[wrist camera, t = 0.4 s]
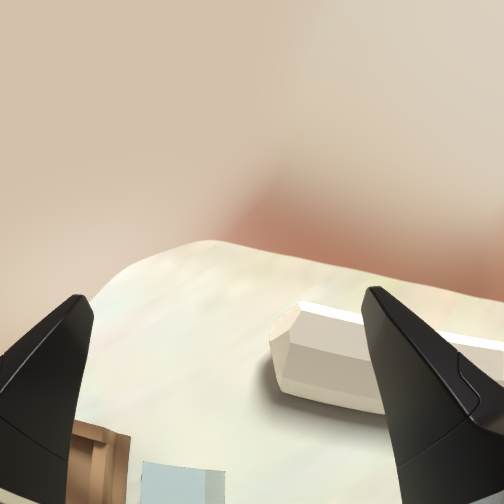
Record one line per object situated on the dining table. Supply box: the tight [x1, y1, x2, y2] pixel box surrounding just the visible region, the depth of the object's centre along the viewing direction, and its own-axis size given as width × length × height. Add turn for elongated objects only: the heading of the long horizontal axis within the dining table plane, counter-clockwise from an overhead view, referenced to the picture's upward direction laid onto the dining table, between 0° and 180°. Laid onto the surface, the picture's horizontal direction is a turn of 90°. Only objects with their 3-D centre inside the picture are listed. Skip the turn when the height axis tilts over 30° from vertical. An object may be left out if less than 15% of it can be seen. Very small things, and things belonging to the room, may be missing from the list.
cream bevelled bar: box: [269, 301, 504, 415], centre depth 18 cm, size 7×7×24 cm
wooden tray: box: [66, 420, 131, 504], centre depth 12 cm, size 15×9×3 cm, turn 0°
